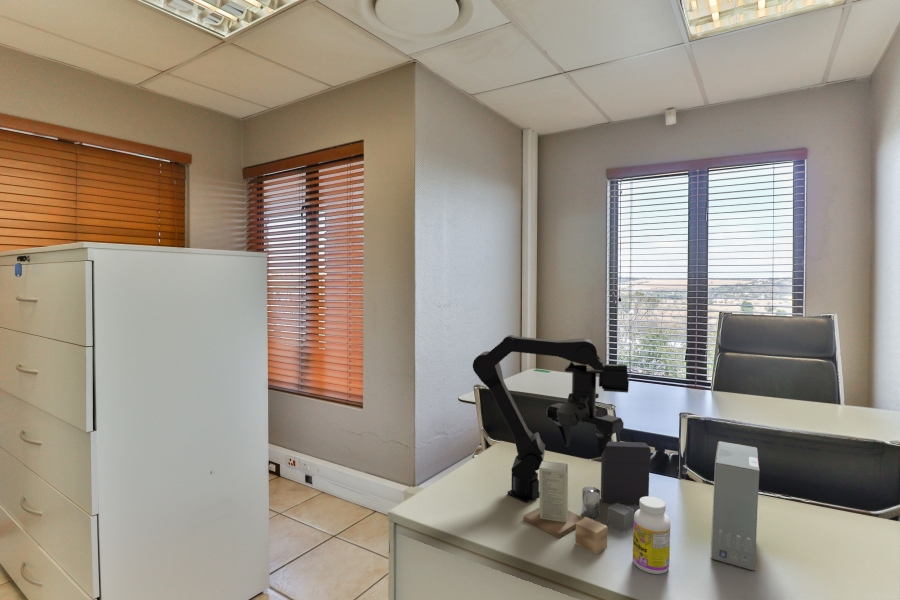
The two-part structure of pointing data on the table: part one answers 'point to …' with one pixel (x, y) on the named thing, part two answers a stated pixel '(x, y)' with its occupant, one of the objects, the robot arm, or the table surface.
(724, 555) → the hard drive box
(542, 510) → the skincare box
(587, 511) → the metal canister
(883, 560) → the table surface
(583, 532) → the oak block
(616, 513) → the gray cube
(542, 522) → the walnut board
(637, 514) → the supplement bottle
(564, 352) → the robot arm
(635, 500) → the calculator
